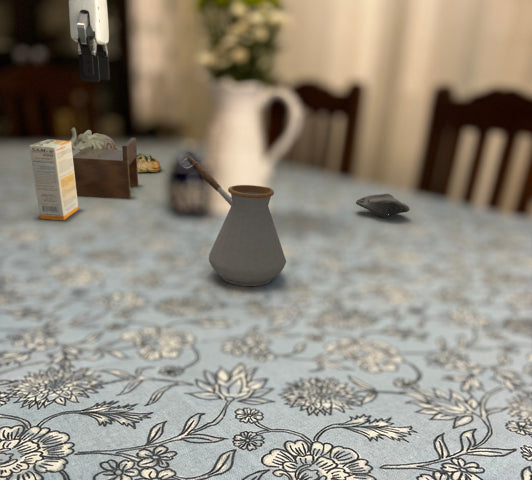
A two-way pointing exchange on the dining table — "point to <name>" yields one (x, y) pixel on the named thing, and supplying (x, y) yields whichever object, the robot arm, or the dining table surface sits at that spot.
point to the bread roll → (147, 163)
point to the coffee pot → (245, 235)
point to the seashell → (382, 205)
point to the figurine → (91, 141)
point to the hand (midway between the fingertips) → (96, 80)
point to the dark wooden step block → (106, 171)
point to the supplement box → (54, 178)
